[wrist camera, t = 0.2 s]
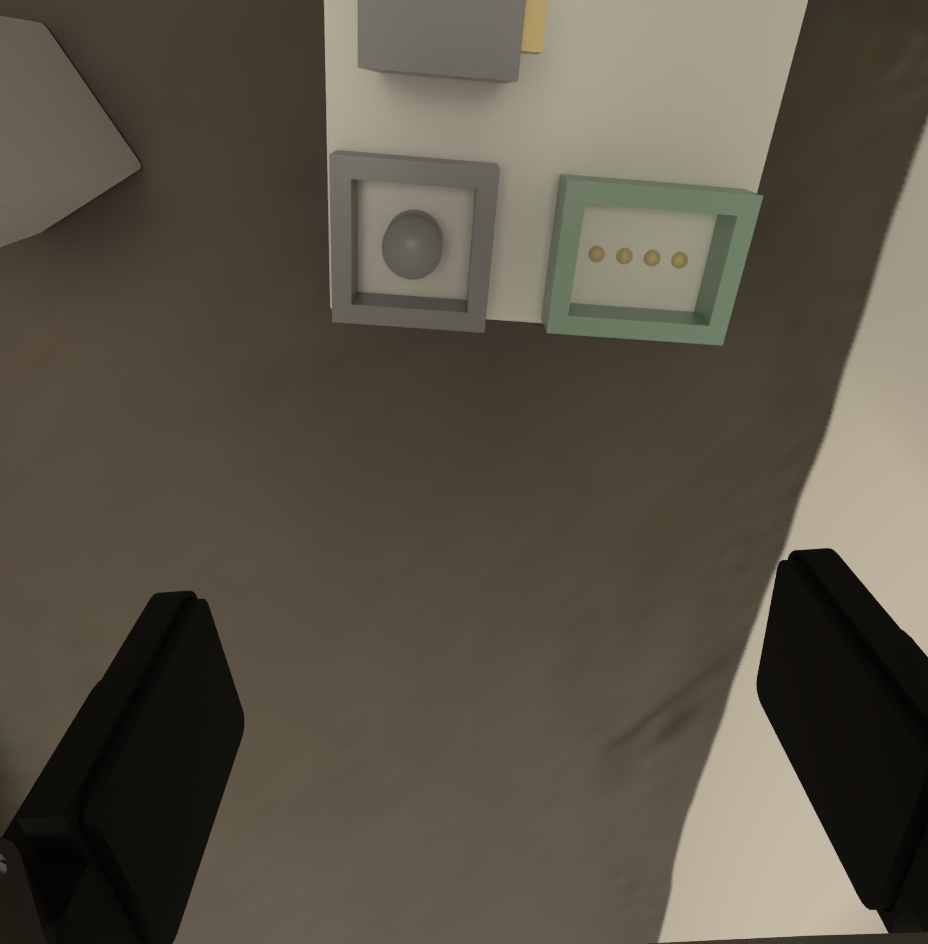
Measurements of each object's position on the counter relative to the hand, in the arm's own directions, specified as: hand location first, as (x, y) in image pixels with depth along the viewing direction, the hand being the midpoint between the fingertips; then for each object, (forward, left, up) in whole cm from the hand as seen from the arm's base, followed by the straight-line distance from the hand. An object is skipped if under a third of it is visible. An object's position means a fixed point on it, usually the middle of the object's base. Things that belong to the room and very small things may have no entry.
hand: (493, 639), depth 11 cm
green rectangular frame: (-1, +9, -29) cm, 30 cm away
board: (-5, +4, -30) cm, 31 cm away
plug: (-10, -2, -29) cm, 31 cm away
